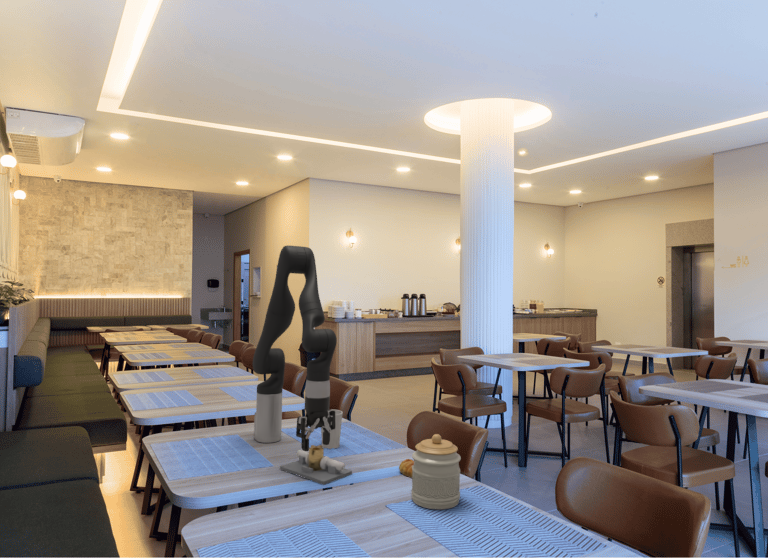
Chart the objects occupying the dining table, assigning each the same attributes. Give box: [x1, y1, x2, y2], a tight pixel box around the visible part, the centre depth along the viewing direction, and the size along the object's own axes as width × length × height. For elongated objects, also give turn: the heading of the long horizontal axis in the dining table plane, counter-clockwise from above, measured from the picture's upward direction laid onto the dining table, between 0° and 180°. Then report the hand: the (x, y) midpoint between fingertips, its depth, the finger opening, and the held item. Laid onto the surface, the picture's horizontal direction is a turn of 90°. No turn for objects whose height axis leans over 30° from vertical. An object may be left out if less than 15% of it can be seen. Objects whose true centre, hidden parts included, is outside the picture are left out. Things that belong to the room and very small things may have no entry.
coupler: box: [308, 444, 325, 471], centre depth 164 cm, size 4×4×7 cm
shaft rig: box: [279, 449, 353, 486], centre depth 163 cm, size 19×12×5 cm, turn 51°
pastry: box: [398, 458, 414, 479], centre depth 163 cm, size 9×7×4 cm
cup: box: [320, 409, 344, 450], centre depth 190 cm, size 8×8×12 cm
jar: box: [410, 433, 462, 510], centre depth 144 cm, size 13×13×18 cm
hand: (315, 447), depth 164 cm, fingers open, 8 cm apart
